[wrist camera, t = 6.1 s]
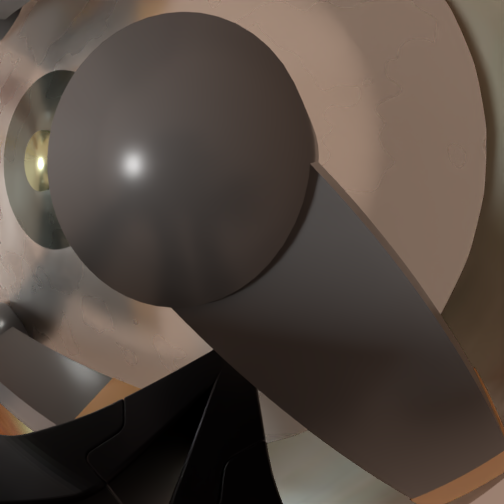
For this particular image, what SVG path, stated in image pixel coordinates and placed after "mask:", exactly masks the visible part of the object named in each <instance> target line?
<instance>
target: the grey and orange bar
mask: <svg viewBox="0 0 504 504" xmlns="http://www.w3.org/2000/svg"><path fill="white" fill-rule="evenodd" d="M318 160H319V151H318V142H317V137H316V133H315V131H314V128H313V125H312V122H311V120H310V118H309V115H308V113H307V110H306V108H305V106H304V103H303V101H302V99H301V97H300V94H299V92H298V90H297V88H296V85H295V83H294V81H293V80H292V78H291V76H290V75H289V73H288V71H287V69H286V68H285V66H284V64H283V63H282V62H281V61H280V59H279V58H278V57H277V56H276V55H275V53H274V52H273V51H272V50H271V49H270V48H269V47H268V46H267V45H266V44H265V43H264V42H263V41H261V40H260V39H259V38H258V37H257V36H255V35H254V34H253V33H251V32H250V31H248V30H246V29H245V28H243V27H241V26H240V25H238V24H236V23H234V22H231V21H229V20H226V19H224V18H221V17H218V16H214V15H209V14H204V13H198V12H173V13H164V14H159V15H155V16H151V17H147V18H145V19H142V20H139V21H137V22H134V23H132V24H130V25H128V26H126V27H124V28H123V29H121V30H119V31H117V32H116V33H114V34H113V35H111V36H110V37H109V38H107V39H106V40H105V41H103V42H102V43H101V44H100V45H99V46H98V47H97V48H96V49H94V50H93V51H92V52H91V53H90V54H89V55H88V57H87V58H86V59H85V60H84V61H83V62H82V64H81V65H80V66H79V67H78V69H77V70H76V72H75V73H74V75H73V76H72V78H71V79H70V81H69V83H68V85H67V86H66V88H65V90H64V92H63V94H62V96H61V99H60V101H59V104H58V106H57V109H56V112H55V115H54V119H53V122H52V126H51V131H50V136H49V143H48V155H47V171H48V182H49V189H50V194H51V199H52V204H53V207H54V210H55V213H56V216H57V219H58V222H59V224H60V226H61V229H62V231H63V233H64V235H65V237H66V239H67V240H68V242H69V244H70V246H71V247H72V249H73V250H74V252H75V253H76V254H77V256H78V257H79V259H80V260H81V261H82V262H83V263H84V264H85V266H86V267H87V268H88V269H89V270H90V271H91V272H92V273H93V274H94V275H95V276H96V277H98V278H99V279H100V280H101V281H102V282H104V283H105V284H106V285H108V286H109V287H111V288H112V289H113V290H115V291H117V292H119V293H121V294H123V295H124V296H126V297H129V298H131V299H134V300H136V301H139V302H141V303H145V304H150V305H154V306H159V307H169V308H172V309H173V310H174V311H175V312H176V313H177V314H178V315H179V316H180V317H181V318H182V319H183V320H184V321H185V322H186V323H187V324H188V325H189V326H190V327H191V328H192V329H193V330H194V331H195V332H196V333H197V334H198V335H199V336H200V337H201V338H202V339H203V340H204V341H205V342H206V343H207V344H208V345H209V346H210V347H211V348H212V349H214V350H215V351H216V352H217V353H218V354H219V355H220V356H221V357H222V358H223V359H224V360H225V361H226V362H228V363H229V364H230V365H231V366H232V367H233V368H234V369H235V370H236V371H238V372H239V373H240V374H241V375H242V376H243V377H244V378H245V379H247V380H248V381H249V382H250V383H251V384H252V385H254V386H255V387H256V388H257V389H258V390H259V391H261V392H262V393H263V394H264V395H265V396H266V397H268V398H269V399H270V400H271V401H272V402H274V403H275V404H276V405H277V406H279V407H280V408H281V409H282V410H283V411H285V412H286V413H287V414H288V415H290V416H291V417H292V418H294V419H295V420H296V421H297V422H299V423H300V424H301V425H302V426H304V427H305V428H306V429H308V430H309V431H310V432H312V433H313V434H314V435H316V436H317V437H318V438H320V439H321V440H322V441H324V442H325V443H326V444H328V445H329V446H331V447H332V448H333V449H335V450H336V451H338V452H339V453H340V454H342V455H343V456H345V457H346V458H348V459H349V460H351V461H352V462H353V463H355V464H356V465H358V466H359V467H361V468H362V469H364V470H365V471H367V472H368V473H370V474H372V475H373V476H375V477H376V478H378V479H379V480H381V481H383V482H384V483H386V484H387V485H389V486H391V487H392V488H394V489H396V490H397V491H399V492H401V493H402V494H404V495H406V496H408V497H409V498H410V500H411V501H413V502H415V503H417V504H446V503H448V502H450V501H453V500H455V499H457V498H459V497H461V496H463V495H465V494H467V493H469V492H471V491H473V490H474V489H476V488H478V487H480V486H482V485H484V484H485V483H487V482H489V481H490V480H492V479H494V478H495V477H497V476H499V475H500V474H502V473H504V427H503V425H502V422H501V420H500V417H499V415H498V413H497V411H496V408H495V406H494V404H493V402H492V400H491V397H490V395H489V393H488V391H487V389H486V387H485V385H484V383H483V381H482V380H481V378H480V376H479V374H478V372H477V370H476V368H475V367H474V368H473V367H472V365H471V363H470V361H469V360H468V358H467V356H466V355H465V353H464V351H463V349H462V348H461V346H460V344H459V343H458V341H457V340H456V338H455V336H454V335H453V333H452V332H451V330H450V328H449V327H448V325H447V324H446V322H445V321H444V319H443V317H442V316H441V314H440V313H439V311H438V310H437V308H436V307H435V305H434V304H433V302H432V301H431V300H430V298H429V297H428V295H427V294H426V292H425V291H424V289H423V288H422V287H421V285H420V284H419V282H418V281H417V280H416V278H415V277H414V276H413V274H412V273H411V271H410V270H409V269H408V267H407V266H406V265H405V263H404V262H403V261H402V259H401V258H400V257H399V255H398V254H397V253H396V252H395V250H394V249H393V248H392V246H391V245H390V244H389V243H388V241H387V240H386V239H385V238H384V236H383V235H382V234H381V233H380V231H379V230H378V229H377V228H376V226H375V225H374V224H373V223H372V222H371V220H370V219H369V218H368V217H367V216H366V214H365V213H364V212H363V211H362V210H361V209H360V207H359V206H358V205H357V204H356V203H355V202H354V200H353V199H352V198H351V197H350V196H349V195H348V194H347V192H346V191H345V190H344V189H343V188H342V187H341V186H340V185H339V184H338V182H337V181H336V180H335V179H334V178H333V177H332V176H331V175H330V174H329V173H328V172H327V171H326V169H325V168H324V167H323V166H322V165H321V164H320V163H319V162H318Z"/></svg>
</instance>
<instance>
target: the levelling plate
mask: <svg viewBox="0 0 504 504" xmlns="http://www.w3.org/2000/svg"><path fill="white" fill-rule="evenodd" d="M173 12H198V13H204V14H209V15H214V16H218V17H221V18H224V19H226V20H229V21H231V22H234V23H236V24H238V25H240V26H241V27H243V28H245V29H246V30H248V31H250V32H251V33H253V34H254V35H255V36H257V37H258V38H259V39H260V40H261V41H263V42H264V43H265V44H266V45H267V46H268V47H269V48H270V49H271V50H272V51H273V52H274V53H275V55H276V56H277V57H278V58H279V59H280V61H281V62H282V63H283V64H284V66H285V68H286V69H287V71H288V73H289V75H290V76H291V78H292V80H293V81H294V83H295V85H296V88H297V90H298V92H299V94H300V97H301V99H302V101H303V103H304V106H305V108H306V110H307V113H308V115H309V118H310V120H311V122H312V125H313V128H314V131H315V133H316V137H317V142H318V151H319V160H318V162H319V163H320V164H321V165H322V166H323V167H324V168H325V169H326V171H327V172H328V173H329V174H330V175H331V176H332V177H333V178H334V179H335V180H336V181H337V182H338V184H339V185H340V186H341V187H342V188H343V189H344V190H345V191H346V192H347V194H348V195H349V196H350V197H351V198H352V199H353V200H354V202H355V203H356V204H357V205H358V206H359V207H360V209H361V210H362V211H363V212H364V213H365V214H366V216H367V217H368V218H369V219H370V220H371V222H372V223H373V224H374V225H375V226H376V228H377V229H378V230H379V231H380V233H381V234H382V235H383V236H384V238H385V239H386V240H387V241H388V243H389V244H390V245H391V246H392V248H393V249H394V250H395V252H396V253H397V254H398V255H399V257H400V258H401V259H402V261H403V262H404V263H405V265H406V266H407V267H408V269H409V270H410V271H411V273H412V274H413V276H414V277H415V278H416V280H417V281H418V282H419V284H420V285H421V287H422V288H423V289H424V291H425V292H426V294H427V295H428V297H429V298H430V300H431V301H432V302H433V304H434V305H435V307H436V308H437V310H438V311H439V313H440V314H441V313H442V311H443V309H444V307H445V305H446V303H447V301H448V299H449V297H450V295H451V293H452V291H453V289H454V287H455V285H456V283H457V281H458V279H459V277H460V275H461V272H462V270H463V268H464V266H465V263H466V261H467V259H468V256H469V252H470V249H471V246H472V242H473V239H474V235H475V231H476V227H477V223H478V219H479V215H480V210H481V206H482V201H483V196H484V188H485V173H486V121H485V114H484V108H483V102H482V96H481V91H480V86H479V81H478V77H477V73H476V68H475V64H474V61H473V59H472V56H471V53H470V51H469V48H468V46H467V43H466V41H465V39H464V36H463V34H462V32H461V29H460V27H459V25H458V23H457V21H456V19H455V16H454V14H453V12H452V10H451V8H450V7H449V5H448V4H447V2H446V1H445V0H30V1H29V2H28V3H26V4H25V5H23V7H22V9H21V11H20V13H19V15H18V17H17V18H16V20H15V22H14V23H13V25H12V27H11V28H10V30H9V31H8V32H7V34H6V35H5V36H4V37H3V39H2V40H1V41H0V302H3V303H5V304H7V305H8V306H9V307H10V308H11V309H12V310H13V311H14V312H15V314H16V315H17V316H18V318H19V319H20V321H21V322H22V324H23V326H24V327H25V329H26V331H27V333H28V335H29V337H31V338H32V339H34V340H36V341H38V342H39V343H41V344H43V345H45V346H47V347H48V348H50V349H52V350H54V351H56V352H58V353H60V354H62V355H64V356H66V357H68V358H70V359H72V360H74V361H76V362H78V363H80V364H82V365H84V366H86V367H88V368H90V369H93V370H95V371H97V372H99V373H101V374H104V375H106V376H108V377H111V378H115V379H118V380H120V381H123V382H125V383H128V384H130V385H133V386H135V387H138V388H141V389H142V388H144V387H146V386H148V385H150V384H152V383H154V382H155V381H157V380H159V379H161V378H163V377H165V376H167V375H169V374H170V373H172V372H174V371H176V370H178V369H180V368H181V367H183V366H185V365H187V364H189V363H190V362H192V361H194V360H196V359H197V358H199V357H201V356H203V355H205V354H206V353H208V352H210V351H211V350H213V349H212V348H211V347H210V346H209V345H208V344H207V343H206V342H205V341H204V340H203V339H202V338H201V337H200V336H199V335H198V334H197V333H196V332H195V331H194V330H193V329H192V328H191V327H190V326H189V325H188V324H187V323H186V322H185V321H184V320H183V319H182V318H181V317H180V316H179V315H178V314H177V313H176V312H175V311H174V310H173V309H172V308H169V307H159V306H154V305H150V304H145V303H141V302H139V301H136V300H134V299H131V298H129V297H126V296H124V295H123V294H121V293H119V292H117V291H115V290H113V289H112V288H111V287H109V286H108V285H106V284H105V283H104V282H102V281H101V280H100V279H99V278H98V277H96V276H95V275H94V274H93V273H92V272H91V271H90V270H89V269H88V268H87V267H86V266H85V264H84V263H83V262H82V261H81V260H80V259H79V257H78V256H77V254H76V253H75V252H74V250H73V249H72V247H71V246H70V244H69V242H68V240H67V239H66V237H65V235H64V233H63V231H62V229H61V226H60V224H59V222H58V219H57V216H56V213H55V210H54V207H53V204H52V199H51V194H50V189H49V182H48V171H47V155H48V143H49V136H50V131H51V126H52V122H53V119H54V115H55V112H56V109H57V106H58V104H59V101H60V99H61V96H62V94H63V92H64V90H65V88H66V86H67V85H68V83H69V81H70V79H71V78H72V76H73V75H74V73H75V72H76V70H77V69H78V67H79V66H80V65H81V64H82V62H83V61H84V60H85V59H86V58H87V57H88V55H89V54H90V53H91V52H92V51H93V50H94V49H96V48H97V47H98V46H99V45H100V44H101V43H102V42H103V41H105V40H106V39H107V38H109V37H110V36H111V35H113V34H114V33H116V32H117V31H119V30H121V29H123V28H124V27H126V26H128V25H130V24H132V23H134V22H137V21H139V20H142V19H145V18H147V17H151V16H155V15H159V14H164V13H173ZM258 394H259V400H260V406H261V412H262V419H263V425H264V431H265V437H266V442H267V443H269V442H273V441H277V440H281V439H285V438H288V437H292V436H294V435H297V434H299V433H302V432H304V431H307V430H308V429H306V428H305V427H304V426H302V425H301V424H300V423H299V422H297V421H296V420H295V419H294V418H292V417H291V416H290V415H288V414H287V413H286V412H285V411H283V410H282V409H281V408H280V407H279V406H277V405H276V404H275V403H274V402H272V401H271V400H270V399H269V398H268V397H266V396H265V395H264V394H263V393H262V392H261V391H259V390H258Z"/></svg>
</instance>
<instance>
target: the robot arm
mask: <svg viewBox="0 0 504 504" xmlns="http://www.w3.org/2000/svg"><path fill="white" fill-rule="evenodd" d="M0 504H283V503H282V500H281V498H280V495H279V492H278V489H277V486H276V483H275V479H274V476H273V473H272V468H271V464H270V459H269V454H268V448H267V442H266V437H265V431H264V425H263V419H262V412H261V406H260V400H259V394H258V389H257V388H256V387H255V386H254V385H252V384H251V383H250V382H249V381H248V380H247V379H245V378H244V377H243V376H242V375H241V374H240V373H239V372H238V371H236V370H235V369H234V368H233V367H232V366H231V365H230V364H229V363H228V362H226V361H225V360H224V359H223V358H222V357H221V356H220V355H219V354H218V353H217V352H216V351H215V350H214V349H213V350H211V351H210V352H208V353H206V354H205V355H203V356H201V357H199V358H197V359H196V360H194V361H192V362H190V363H189V364H187V365H185V366H183V367H181V368H180V369H178V370H176V371H174V372H172V373H170V374H169V375H167V376H165V377H163V378H161V379H159V380H157V381H155V382H154V383H152V384H150V385H148V386H146V387H144V388H142V389H140V390H138V391H136V392H134V393H132V394H130V395H128V396H126V397H125V398H124V400H123V399H120V400H118V401H116V402H114V403H112V404H110V405H108V406H106V407H104V408H101V409H99V410H97V411H95V412H92V413H90V414H87V415H85V416H82V417H79V418H76V419H74V420H71V421H68V422H65V423H62V424H58V425H55V426H52V427H49V428H45V429H42V430H39V431H35V432H32V433H28V434H23V435H16V436H7V435H0Z"/></svg>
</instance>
